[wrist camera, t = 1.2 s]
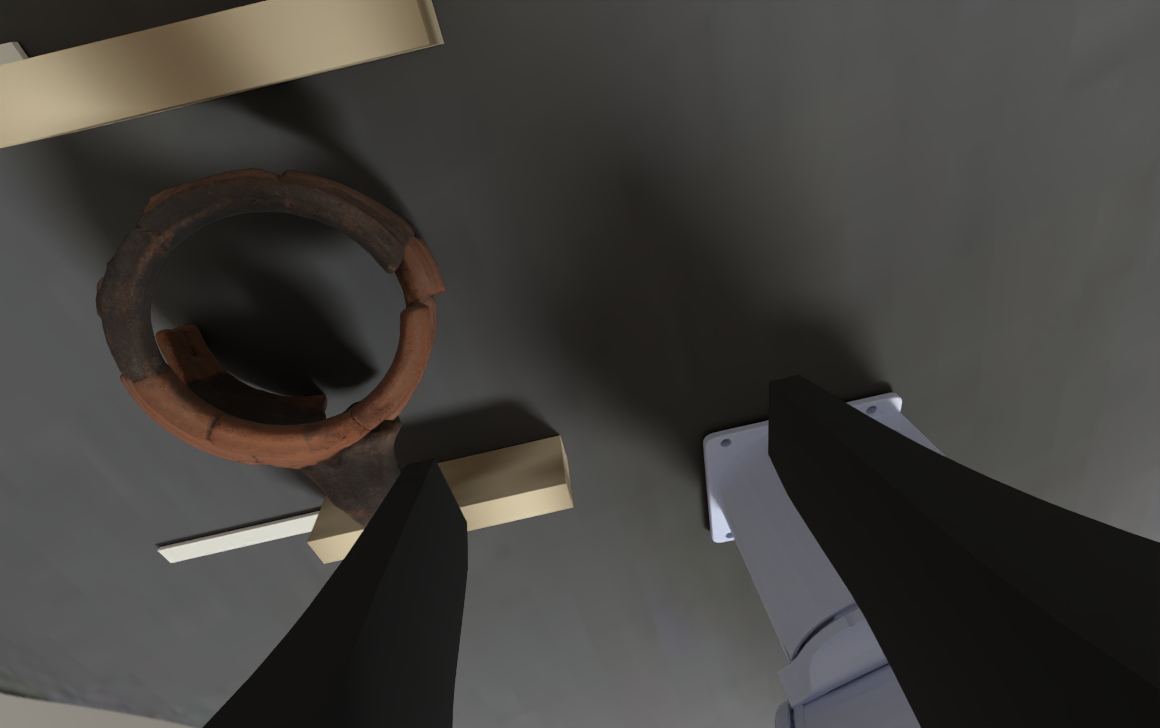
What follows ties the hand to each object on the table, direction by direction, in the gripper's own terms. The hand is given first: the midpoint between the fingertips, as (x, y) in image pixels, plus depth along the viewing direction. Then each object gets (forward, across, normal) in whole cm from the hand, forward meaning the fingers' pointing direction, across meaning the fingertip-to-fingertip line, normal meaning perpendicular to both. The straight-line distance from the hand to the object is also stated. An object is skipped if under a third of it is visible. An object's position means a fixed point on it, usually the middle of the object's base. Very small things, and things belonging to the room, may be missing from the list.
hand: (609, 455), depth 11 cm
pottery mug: (+10, +9, 0) cm, 14 cm away
